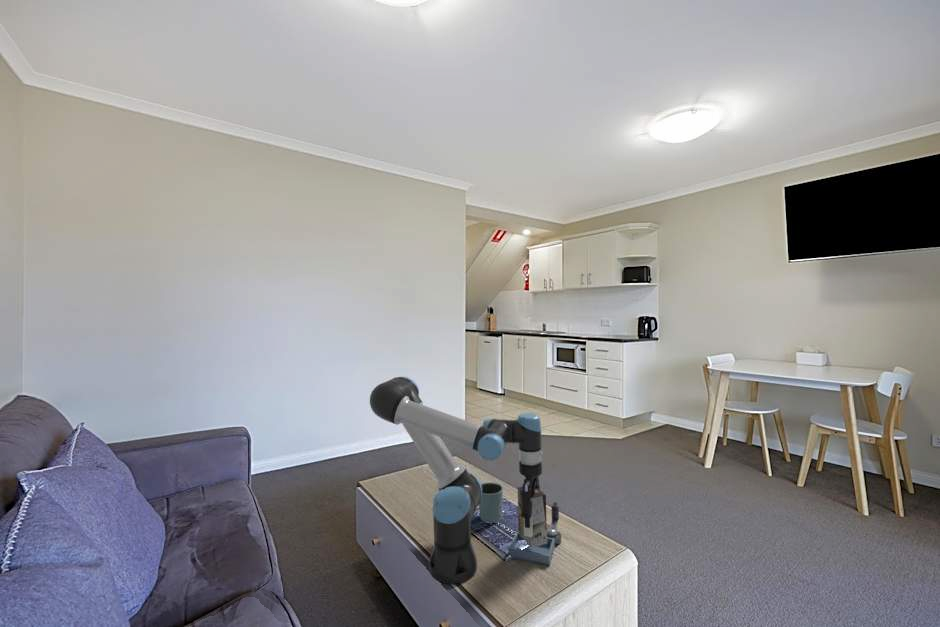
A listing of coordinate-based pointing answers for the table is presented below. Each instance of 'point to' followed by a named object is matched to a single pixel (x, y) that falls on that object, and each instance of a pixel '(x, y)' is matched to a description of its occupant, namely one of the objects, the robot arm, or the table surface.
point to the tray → (533, 551)
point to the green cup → (491, 502)
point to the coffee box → (534, 518)
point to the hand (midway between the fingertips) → (532, 526)
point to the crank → (554, 521)
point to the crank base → (557, 538)
